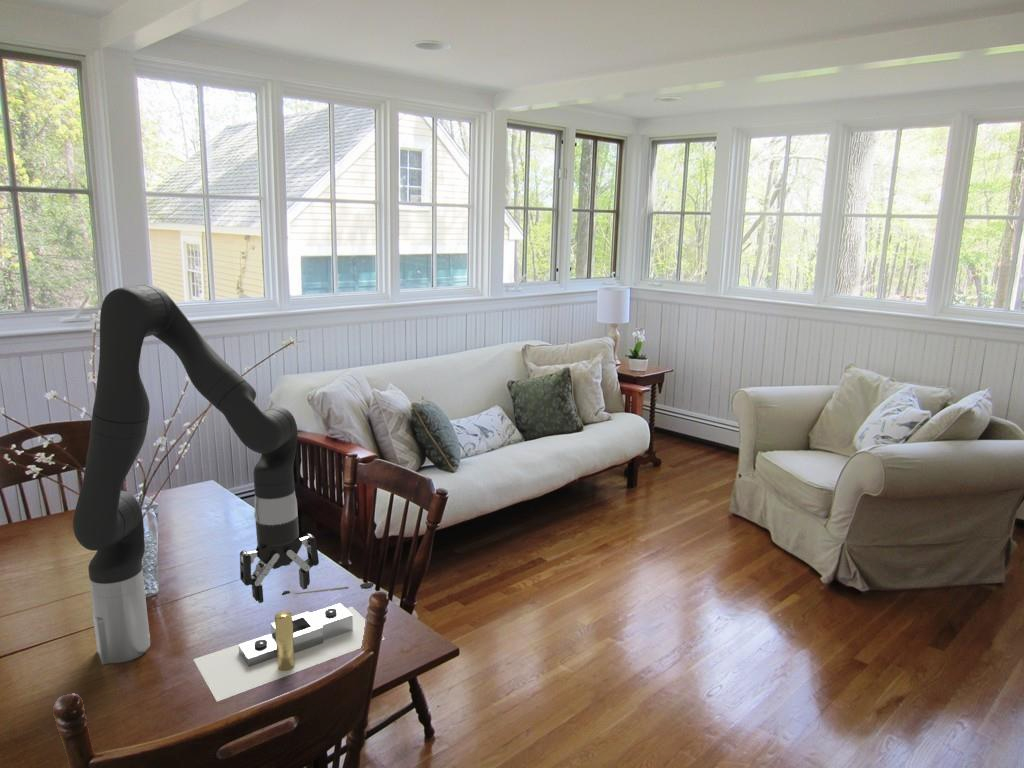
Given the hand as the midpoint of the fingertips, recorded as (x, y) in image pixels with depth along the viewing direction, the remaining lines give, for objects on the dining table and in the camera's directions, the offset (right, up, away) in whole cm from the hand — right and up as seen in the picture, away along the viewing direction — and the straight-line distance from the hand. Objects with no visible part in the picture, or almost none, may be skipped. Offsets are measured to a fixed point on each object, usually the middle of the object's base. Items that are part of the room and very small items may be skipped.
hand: (282, 594), depth 139 cm
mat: (-1, -14, +9) cm, 17 cm away
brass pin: (0, -15, +3) cm, 16 cm away
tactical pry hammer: (+1, -10, +31) cm, 33 cm away
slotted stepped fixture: (-1, -13, +12) cm, 18 cm away
